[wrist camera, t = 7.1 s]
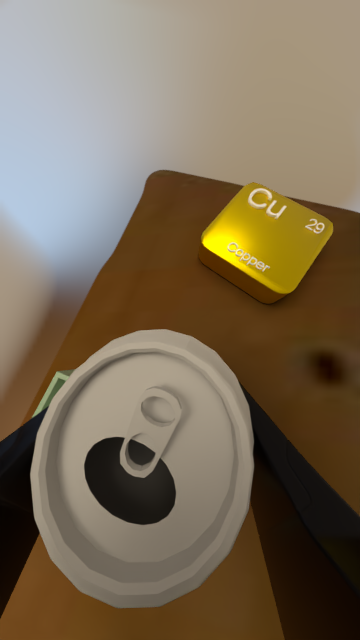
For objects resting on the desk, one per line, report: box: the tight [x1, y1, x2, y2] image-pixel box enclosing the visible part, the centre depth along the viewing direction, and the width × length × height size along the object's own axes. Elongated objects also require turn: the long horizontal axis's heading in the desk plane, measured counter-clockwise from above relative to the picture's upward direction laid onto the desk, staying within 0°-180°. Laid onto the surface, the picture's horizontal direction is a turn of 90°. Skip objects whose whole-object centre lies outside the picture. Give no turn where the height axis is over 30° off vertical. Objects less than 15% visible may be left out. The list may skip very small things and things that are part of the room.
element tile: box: [198, 182, 333, 304], centre depth 24 cm, size 15×15×5 cm
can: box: [30, 329, 254, 608], centre depth 10 cm, size 8×8×12 cm
